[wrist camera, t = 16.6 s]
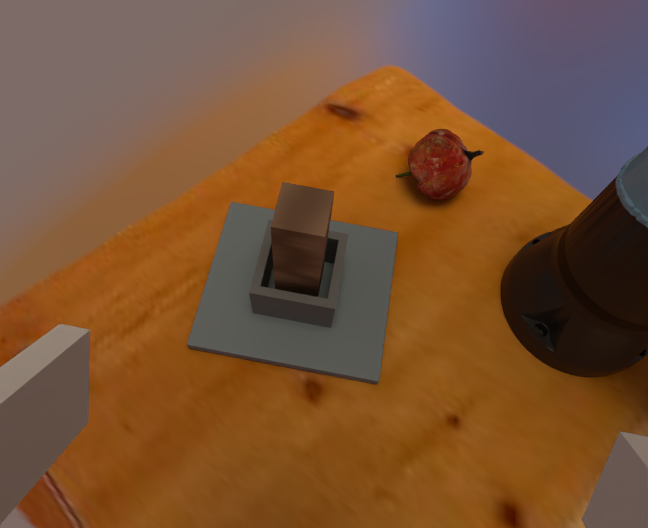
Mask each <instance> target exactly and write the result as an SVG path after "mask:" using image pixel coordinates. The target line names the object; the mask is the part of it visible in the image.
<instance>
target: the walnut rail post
mask: <svg viewBox="0 0 648 528" xmlns="http://www.w3.org/2000/svg"><path fill="white" fill-rule="evenodd" d="M333 198H334V191H328V190H323V189H317V188H312V187H306V186H301V185H295V184H290V183H284V182H282V186H281V189H280V193H279V197H278V201H277V205H276V209H275V212H274V216H273V220H272V224H271V239H272V254H273V269H274V283H275V289H278V290H283V291H288V292H294V293H299V294H304V295H310V296H315V297H318V295H319V290H320V285H321V280H322V275H323V269H324V262H325V255H326V248H327V240H328V233H329V226H330V219H331V212H332V205H333Z"/></svg>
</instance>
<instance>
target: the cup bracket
mask: <svg viewBox="0 0 648 528" xmlns="http://www.w3.org/2000/svg"><path fill="white" fill-rule="evenodd" d="M274 212H275V210H273V209H267V208H262V207H256V206H251V205H246V204H240V203H235V202H231V205H230V208H229V211H228V214H227V218H226V221H225V224H224V227H223V230H222V234H221V237H220V240H219V243H218V246H217V250H216V253H215V256H214V259H213V263H212V266H211V269H210V272H209V275H208V279H207V282H206V285H205V288H204V291H203V295H202V298H201V301H200V304H199V307H198V311H197V314H196V317H195V320H194V323H193V327H192V330H191V333H190V336H189V339H188V343H187V346H188V347H189V348H190V349H195V350H200V351H205V352H211V353H216V354H221V355H226V356H232V357H237V358H242V359H247V360H252V361H258V362H263V363H268V364H273V365H278V366H284V367H289V368H294V369H299V370H305V371H310V372H315V373H320V374H325V375H331V376H336V377H341V378H346V379H351V380H357V381H362V382H367V383H372V384H378V382H379V378H380V370H381V362H382V355H383V347H384V339H385V331H386V323H387V315H388V307H389V300H390V292H391V284H392V276H393V268H394V260H395V252H396V245H397V237H398V233H397V232H392V231H386V230H381V229H376V228H370V227H365V226H359V225H354V224H349V223H343V222H338V221H332V220H330V226H329V233H328V240H327V248H326V255H325V262H324V269H323V275H322V280H321V285H320V290H319V295H318V297H315V296H310V295H304V294H299V293H294V292H288V291H283V290H278V289H275V283H274V269H273V254H272V239H271V224H272V220H273V216H274Z"/></svg>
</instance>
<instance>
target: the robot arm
mask: <svg viewBox="0 0 648 528" xmlns="http://www.w3.org/2000/svg"><path fill="white" fill-rule="evenodd" d="M501 298H502V305H503V309H504V312H505V315H506V318H507V320H508V322H509V324H510V326H511V328H512V330H513V332H514V333H515V334H516V336H517V337H518V339H519V340H520V341H521V342H522V343H523V345H524V346H525V347H526V348H527V349H528V350H529V351H530V352H531V353H533V354H534V355H535V356H536V357H538V358H539V359H540V360H542V361H543V362H545V363H546V364H548V365H550V366H552V367H554V368H556V369H558V370H560V371H563V372H566V373H569V374H572V375H577V376H583V377H601V376H607V375H611V374H614V373H616V372H619V371H621V370H623V369H626V368H628V367H630V366H632V365H634V364H636V363H637V362H639V361H640V360H641V359H643V358H644V357H645V356H646V355H647V354H648V147H647V148H646V149H645V150H643V151H642V152H641V153H639V154H637V155H636V156H634V157H632V158H631V159H630V160H629V161H628V162H627V163H625V165H624V166H623V167H622V168H621V171H620V172H619V174H618V175H617V177H616V178H615V179H614V180H613V181H612V182H611V183H610V184H609V185H608V186H607V187H606V188H605V189H604V190H603V191H602V192H601V193H600V194H599V195H598V196H597V197H596V198H595V199H594V200H593V201H592V203H591V204H590V205H589V206H588V207H587V208H586V209H585V210H583V211H582V212H581V213H580V214H579V215H578V216H577V217H576V219H575V220H574V221H573V222H572V223H571V224H569V225H567V226H564V227H561V228H559V229H556V230H554V231H552V232H548V233H545V234H543V235H540V236H538V237H536V238H534V239H533V240H531V241H530V242H528V243H527V244H526V245H525V246H524V247H523V248H522V249H521V250H520V251H519V252H518V253H517V254H516V255H515V256H514V257H513V259H512V260H511V261H510V263H509V264H508V266H507V268H506V270H505V272H504V275H503V279H502V285H501ZM89 359H90V330H89V329H84V328H79V327H74V326H68V325H63V324H59V325H58V326H56V327H55V328H54V329H52V330H51V331H49V332H48V333H47V334H45V335H44V336H43V337H41V338H40V339H39V340H37V341H36V342H34V343H33V344H32V345H30V346H29V347H28V348H26V349H25V350H23V351H22V352H21V353H19V354H18V355H17V356H15V357H14V358H12V359H11V360H10V361H8V362H7V363H6V364H4V365H3V366H1V367H0V524H1V523H2V522H3V521H4V520H5V518H6V517H7V516H8V515H9V514H10V513H11V512H12V510H13V509H14V508H15V507H16V506H17V505H18V503H19V502H20V501H21V500H22V499H23V498H24V496H25V495H26V494H27V493H28V492H29V491H30V490H31V488H32V487H33V486H34V485H35V484H36V483H37V481H38V480H39V479H40V478H41V477H42V476H43V474H44V473H45V472H46V471H47V470H48V469H49V467H50V466H51V465H52V464H53V463H54V462H55V461H56V459H57V458H58V457H59V456H60V455H61V454H62V452H63V451H64V450H65V449H66V448H67V447H68V445H69V444H70V443H71V442H72V441H73V440H74V439H75V437H76V436H77V435H78V434H79V433H80V432H81V430H82V429H83V428H84V427H85V426H86V425H87V423H88V410H89ZM582 520H583V522H584V524H585V526H586V528H648V437H647V436H642V435H637V434H631V433H626V432H621V431H620V432H619V435H618V437H617V439H616V442H615V444H614V446H613V449H612V451H611V453H610V456H609V458H608V460H607V463H606V465H605V467H604V469H603V472H602V474H601V476H600V479H599V481H598V483H597V486H596V488H595V490H594V493H593V495H592V497H591V500H590V502H589V504H588V507H587V509H586V511H585V514H584V516H583V518H582Z"/></svg>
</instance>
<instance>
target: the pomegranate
mask: <svg viewBox="0 0 648 528" xmlns="http://www.w3.org/2000/svg"><path fill="white" fill-rule="evenodd" d="M483 153H484V151H475V152H471V151H468V150H467V148H466V147H465V146H464V145H463V142H462V141H461V139H460V138H459V137H458V136H457V135H455V134H453V133H452V132H451V131H449V130H446V129H437V130H434V131H431V132H430V133H429V134H427V135H426V136H425V137H424V138H422V139H421V140H420V141H419V142H417V144H416V145H415V147H414V148H413V149H412V151H411V154H410V156H409V158H408V164H409V167H410V171H411V172H407V173H403V174H399V175H396V177H403V176H410V175H413V177H414V178H415V179H416V182H417V188H418V189H419V190H420V191H421V192H423V193H424V194H425V195H427V196H428V197H429V198H430V199H434V200H438V199H446V198H449V197H452V196H453V195H455V194H457V193H458V192H459V191H460V190H462V189H463V188H464V187H465V186H466V184H467V183H468V181H469V179H470V177H471V160H472V159H473V158H474V157H476V156H479V155H482V154H483Z"/></svg>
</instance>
